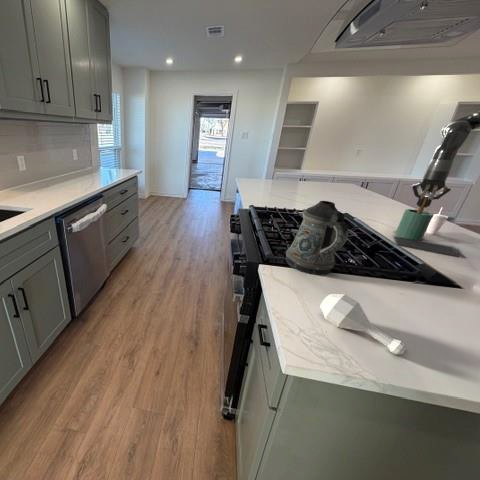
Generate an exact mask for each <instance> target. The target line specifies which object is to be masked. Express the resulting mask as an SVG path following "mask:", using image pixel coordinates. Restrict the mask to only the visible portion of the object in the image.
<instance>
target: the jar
mask: <svg viewBox="0 0 480 480" xmlns="http://www.w3.org/2000/svg"><path fill="white" fill-rule="evenodd" d="M417 211H418V209H414V208H406V209H405V210H404V212H403V214H402V216H401V218H400V221H399V223H398V226H397V228H396V230H395V233H394V235H395V236H396V237H401V238H406V239H412V240H417V241H422V240H423V238H424V236H425V234H426V233H427V228H428V225H429V223H430V221H431V219H432V217H433V215H434V214H435V213H432V212H430V211H426V210H423V212H422V214H418V213H417Z"/></svg>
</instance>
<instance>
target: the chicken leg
mask: <svg viewBox="0 0 480 480" xmlns="http://www.w3.org/2000/svg"><path fill="white" fill-rule="evenodd" d="M319 307H320V309H321V311H322V314H323V316H324V318H325V319H326V320H327V321H328V322H329V323H331V324H333V326H335V327H337V328H341V329H347V330H353V331H359V332H364V333H366V334H367V335H369V336H370V337H372V338H374V339H375V340H376V341H378V342H379V343H381V344H382V345H384V346H385V347H387V349H388V350H389V352H390V353H392V354H394V355H403V354H404V353H405V352H406V344H405V343H404V342H403V341H402V340H400V339H396V338H393V337H392V336H390V335H389V334H387V333H385V332H384V331H382V330H381V329H379V328H377V327H376V326H375V325H373V324H372V323H371V322H370V320H369V318H368V316H367V314H366V313H365V311H364V310H363V308H362V305H360V303H359V301H357V300H356V299H354V298H353V297H351V296H349V295H347V294H345V293H329V294H328V295H326V297H324V299H323V300H322V301H321V303H320V305H319Z"/></svg>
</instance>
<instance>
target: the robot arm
mask: <svg viewBox="0 0 480 480" xmlns="http://www.w3.org/2000/svg"><path fill="white" fill-rule="evenodd" d="M477 129H480V110H479V111H476V112H474V113H471V114H469V115H466V116H462V117H460V118H457V119H455V120H452V121H450V122H448V123H447V124H445V125H444V126H443V127H442V128H441V129H440V135H441V137H442V138H443V140H442V143H441V144H440V145H439V146H437V147H436V149H435V151H434V153H433V156H432V158H431V160H430V161H429V163H428V165H427V167H426V170H425V172H424V174H423V176H422V178H421V181H419V182H418V183H416V184H415V183H414V184H411V189H412V192H413V195H414V196H415V197H416V198H418V199H417V201H416V203H415V205H416V206H417V207H418V208H419V207H420V206H421V204H422V201H423V198H424V196H426V194H427V193H429V195H428V197H429V198H428V200H427V203H426V205H425V207H424V208H428V207H431V204H432V201H433V200H434V201H435V200H440V199H441V198H442V197H443V196H445V195H446V194H447V193H449V192H451V188H450V187H448V186H446V181H447V179H448V177H449V175H450V172H451V171H452V168H453V166H454V163H455V160H456V158H457V156H458V153H459V151H460V149H461V147H462V146H464V144H465V142H466V141H467V139H468V138H469V136H470V135H471V132H472V131H474V130H477ZM419 188H420V189H421V191H420V193H419V191H418V189H419ZM440 190H441V191H440ZM438 191H440V192H438ZM437 192H438V193H437ZM436 193H437V194H436Z"/></svg>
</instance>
